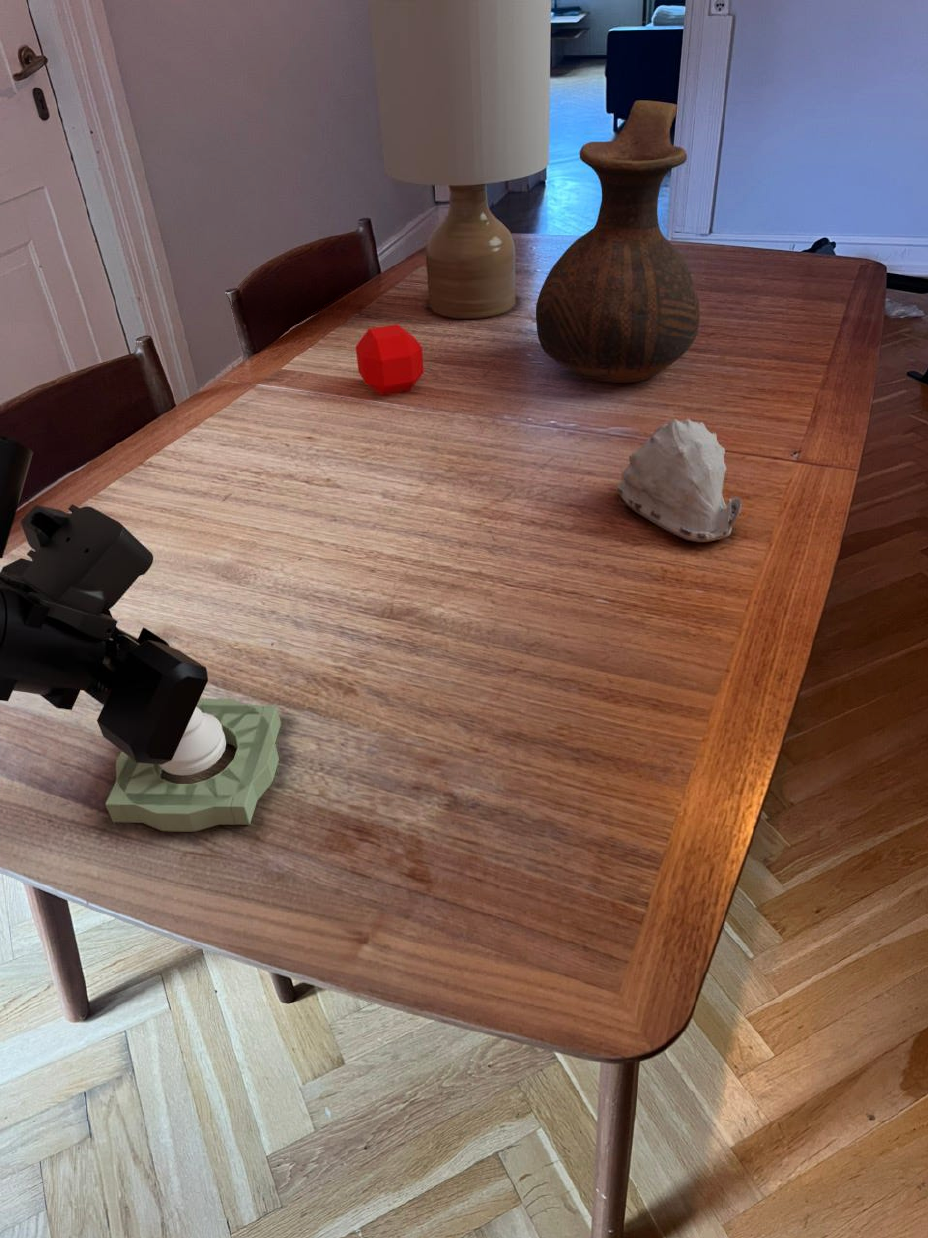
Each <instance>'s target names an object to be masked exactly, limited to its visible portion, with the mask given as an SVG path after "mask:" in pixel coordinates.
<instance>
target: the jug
mask: <svg viewBox="0 0 928 1238" xmlns="http://www.w3.org/2000/svg"><path fill="white" fill-rule="evenodd" d="M677 111H678V105H677V104H676V103H670V102H664V101H655V100H642V99H641V100H635V101H634V102H633V105H632V106H631V110H630V113H629V116H628V117H627V120H626V122H625V124H624V126H623V127H622V129H621V130H620V132H619V133H618V135H616V137H615V138H614V139H613V140H608V141H589V142H587V143H585V144H583V145H582V146H581V148H580V150H579V159H580V161H581V162H582V163H584V164H585V165H587V166H588V167H589V168H591V169H592V170H593V171H594V172H595V174H596V175H597V177H598V180H599V182H600V188H601V202H600V206H599V211H598V215H597V220H596V222H595V225H594V227H592V228H591V229H590V230H589V231H587V232H586V233H584V234H583V235H581V236H580V237H579V238H578V239H576V240H574V242H573V243H572V244H571V245H570V246H569V247H568V248H567V249H566V250H565V252H563V253H562V255H561V256H560V257H559V259H558V260H557V261H556V262H555V264H554V265H553V266H552V267H551V268H550V270H549V272H548V274H547V276H546V278H545V280H544V282H543V285H542V286H541V289H540V291H539V294H538V296H537V297H538V298H537V300H536V305H535V324H536V325H535V326H536V332H537V338H538V341H539V344H540V347H541V349H542V350H543V352H544V353H545V354H546V355H547V356H548V357H550V358H551V359H552V360H554V361H555V362H557V363H558V364H560V365H562V366H564V367H565V368H567V369H569V370H570V371H571V372H573V373H575V374H576V375H578V376H579V377H581V378H584V379H589V380H594V381H599V382H605V383H615V384H632V383H639V382H643V381H646V380H649V379H651V378H653V377H655V376H656V375H658V374H659V373H661V372H662V371H664V370H665V369H666V368H668V367H669V366H670V365H672V364H674V363H675V362H676V361H678V360H679V359H681V357H683V356H684V355H685V353H687V351H688V350H689V349H690V348H691V346H692V344H694V341H695V339H696V338H697V335H698V332H699V329H700V317H701V315H700V314H701V312H700V301H699V296H698V292H697V288H696V285H695V282H694V279H693V277H692V275H691V272H690V269H689V266H688V264H687V262H686V261H685V259H684V257H683V256H682V254H681V253H680V251H679V250H678V249H677V248H676V247H675V246H674V244H672V243H671V242H670V241H669V240H668V239H667V238H666V237H665V235H664V234H663V233H662V230H661V228H660V224H659V216H658V206H659V195H660V190H661V185H662V183H663V181H664V178H665V177H666V175H667V174H668V173H669V171H670V170H671V169H674V168H677V167H679V166H682V165H683V164H685V163H686V161H687V160H688V153H687V150H686V149H684V148H683V147H680V146H677V145H673V144H672V143H671V135H670V134H671V133H670V132H671V128H672V124H673V121H674V119H675V117H676V116H677Z"/></svg>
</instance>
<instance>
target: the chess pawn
mask: <svg viewBox="0 0 928 1238" xmlns="http://www.w3.org/2000/svg"><path fill="white" fill-rule="evenodd" d="M226 747H227V743H226V739H225V735H224V732H223V730H222V725H221V723H220V722H219V720H218V719H216V718H215V717H214V716H212V715H210V714H207V713H202V711H201V710H200V709H199V708H198V707H196V708H195V710H194V713H193V715H192V717H191V719H190V721H189V723H188V726H187V728H186V730H185V732H184V734H183V737H182V739H181V741H180V743H179V745H178V747H177V750H176V752H175V754H174V756H173V758H172V760H171V761H169V762H167V763H164V764H162V765H160V764H159V766H160V767H161V768H162V769H163V770H162V771H164V772H166V773H168V774H171V775H174V776H175V775H176V776H190V775H195V774H198V773H201V772H204V771H206V770H209V768H211V767H212V766H214V765H215V764H216V763H217V762H218V761H219V760H220V759H221V758H222V756H223V754H224V753H225V751H226Z"/></svg>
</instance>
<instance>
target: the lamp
mask: <svg viewBox="0 0 928 1238" xmlns="http://www.w3.org/2000/svg"><path fill="white" fill-rule="evenodd" d="M368 7H369V19H370V20H369V21H370V29H371V40H372V51H373V60H374V72H375V73H374V74H375V82H376V83H375V84H376V94H377V104H378V105H377V107H378V117H379V126H380V136H381V148H382V158H383V168H384V169H383V170H384V173H385V175H386V176H388V177H389V178H392V179H394V180H396V181H399V182H405V183H409V184H416V185H426V186H447V187H448V188H449V195H448V197H449V198H448V199H449V207H448V209H447V213H446V215H445V216H444V218H443V220H442V221H441V222H440V223H439V224H438V225H437V226H436V227H435V228H434V230H433V231H432V233H431V234H430V235H429V237H428V239H427V241H426V247H425V263H426V264H425V265H426V274H427V278H426V279H427V292H428V299H429V300H428V301H429V307H430V309H431V310H432V311H433V312H434V313H435V314H437V315H439V316H442V317H446V318H451V319H458V320H470V319H471V320H472V319H485V318H486V319H487V318H491V317H495V316H496V317H497V316H499V315H502V314H506V313H507V312H509V311H510V310H512V309H513V308H514V306H515V305H516V303H517V298H516V297H517V294H516V292H517V290H516V289H517V288H516V286H517V281H516V265H517V262H516V259H517V257H516V255H517V254H516V253H517V252H516V246H515V242H514V239H513V235H512V233H511V231H510V229H508V227H506V225H504V223H502V221H500V220H499V219H498V218H497V217H496V216H495V215H494V213H493V212H492V211H491V210H490V207H489V201H488V193H487V191H488V189H487V186H488V184H493V183H502V182H507V181H512V180H517V179H521V178H525V177H529V176H532V175H535V174H537V173H539V172H542V171H543V170H544V169H546V168H547V167H548V166H549V164H550V107H551V106H550V105H551V104H550V102H551V101H550V100H551V99H550V98H551V37H552V36H551V34H552V33H551V32H552V31H551V29H552V28H551V27H552V23H551V22H552V0H368Z"/></svg>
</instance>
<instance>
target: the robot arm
mask: <svg viewBox="0 0 928 1238" xmlns="http://www.w3.org/2000/svg"><path fill="white" fill-rule="evenodd" d="M33 455H34V452H33V450H32V449H31V448H29V447H28V446H26V445H24V444H23V443H21V442H19V441H16V440H15V439H12V438H10V437H7V436H3V435H0V559H3V558H4V554H5V551H6V549H7V545H8V541H9V538H10V535H11V532H12V528H13V525H14V522H15V518H16V514H17V511H18V507H19V505H20V500H21V496H22V493H23V491H24V486H25V482H26V480H27V476H28V472H29V469H30V465H31V462H32V458H33ZM67 509H68V511H69V512H65V511H64V510H61V509H58V508H52V507H48V506H43V505H39V504H36V505H34V506H33V507H32V508H31V509H30V510H29V511H28V512H27V514H26V515H24V516H23V518H22V519H21V520H20V524H21V528H22V530H23V533H24V535H25V538H26V541H27V544H28V546H29V547H30V550H29V551H27V553H26V556H27V557H29V558H30V559H31V560H29V559H26V558H22V557H20V558H19V559H16V560H14V561H12V562H10V563H8V564H6V565H4V566H2V567H1V570H0V701H2V702H9V701H10V698H11V696H12V694H13V691H14V692H18V693H19V692H20V693H26V694H34V695H40V696H41V698H43V699H45V700H46V701H47V702H49V704H51V705H52V706H54V708H56V709H59V710H68V711H72V710H73V708H74V706H75V704H76V701H77V700H78V697H79V695H80V693H81V691H83V692H85V694H87V695H88V696H90V697H91V698H93V699H94V700H96V701H97V702H98V703H99V704H101V705H102V708H101V710H100V712H99V714H98V717H97V719H96V722H97V725H98V728H99V729H100V732H101V734H102V737H103V738H104V739H106V740H107V741H108V742H110V743H111V744H112V745H113V746H115V747H116V748H117V749H119V750H120V751H122V752H124V753H125V754H126V755H128V756H129V757H130V758H131V759H133V760H134V761H135V762H137V763H148V764H160V765H162V764H164V763H167V762H169V761H171V760H172V758H173V756H174V754H175V752H176V750H177V747H178V745H179V743H180V741H181V739H182V737H183V734H184V732H185V730H186V728H187V726H188V723H189V721H190V719H191V717H192V715H193V713H194V710H195V708H196V706H197V704H198V702H199V699H201V697H202V695H203V693H204V691H205V689H206V686H207V684H208V682H209V676H208V670H207V666H204V665H203V664H201V663H200V662H198V661H196V660H195V659H193V658H192V657H190V655H189V656H188V654H186V653H184V652H183V651H181V650H179V649H177V648H174V647H171V646H170V644H169V643H168V642H167V641H166V640H164V639H163V638H161V637H160V636H158V635H157V634H155V633H154V632H152V631H150V630H149V629H148V628H146V627H145V626H144V627H142V629H141V631H140V632H139V633H140V634H139V636H138V637H135V636H133V635H132V634H130V633H129V632H126V631H125V630H122V629H121V628H118V626H117V624H118V623H119V621H118V620H117V619H115V618H114V617H113V615H112V613H111V609H112V608H113V607H114V606H115V605H116V604H117V603H118V602H119V601H120V600H121V598H122V597H123V596H124V595H125V594H126V592H127V591H128V590H129V589H130V588H131V587H132V586H133V584H134V583H135V582H136V581H137V580H138V578H140V576H144V575H145V574H146V573H147V572H148V571H149V570H150V568H152V567H151V566H152V565H153V562H154V555H153V553H152V552H151V551H150V550H149V549H148V548H147V547H146V546H145V545H144V544H143V543H142V542H141V541H140V540H139V539H137V537H135V536H134V535H133V534H132V533H131V531H129V530H128V529H127V528H126V527H125V526H124V525H123V524H122V523H121V522H119V521H118V520H117V519H115V518H112V517H111V516H108V515H107V514H105V513H103V512H101V511H99V510H98V509H96V508H94V507H92V506H82V507H79V506H77V505H75V504H71V505H70V506H69V507H68V508H67ZM70 512H71V513H70Z"/></svg>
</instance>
